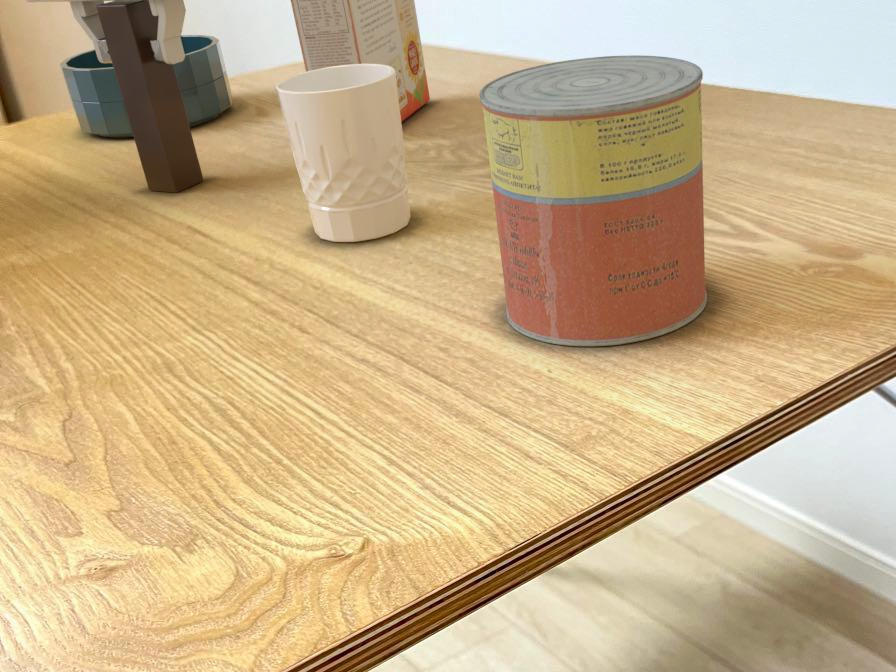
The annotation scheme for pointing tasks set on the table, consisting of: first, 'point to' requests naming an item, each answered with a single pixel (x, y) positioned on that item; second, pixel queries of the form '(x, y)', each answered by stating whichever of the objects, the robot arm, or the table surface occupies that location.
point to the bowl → (103, 100)
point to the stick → (150, 97)
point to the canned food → (599, 197)
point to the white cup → (348, 149)
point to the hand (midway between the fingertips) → (142, 62)
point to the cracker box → (365, 41)
